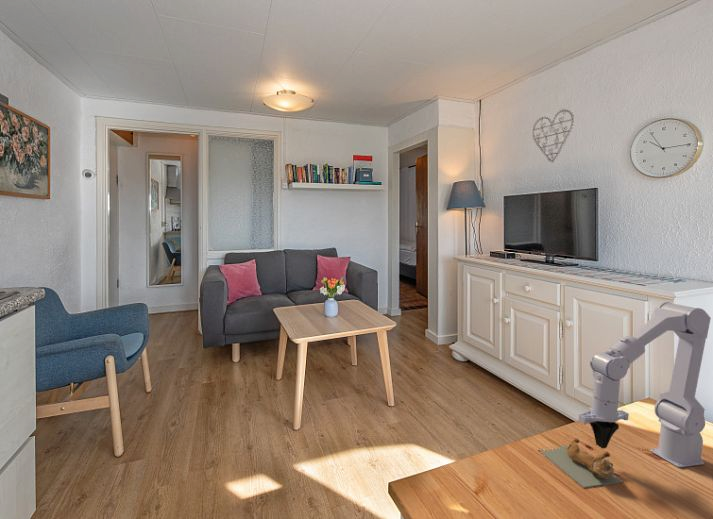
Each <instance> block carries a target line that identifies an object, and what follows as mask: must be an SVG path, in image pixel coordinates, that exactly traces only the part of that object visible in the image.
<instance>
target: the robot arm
mask: <svg viewBox="0 0 713 519" xmlns="http://www.w3.org/2000/svg"><path fill="white" fill-rule="evenodd" d="M710 324H711V316H710V315H709V314H708V312H706V311H705V309H703V308H699V307H692V306H687V305H683V304H676V303H672V302H670V301H664V302H662V303H661V304H659V305H658V306H657V307H656V308H654V309H653V314H652V317H651V318H650V319H649V320H648V321H647V322H646V323H645V324H643V326H642V327H641V328H640V329H639V330H637V332H635V333H634V334H633V335H632V336H631V335H629V336H628V335H625V336H622V337H621V338H619V341H617V342H616V343H614V344H613V345H612V346H610V348H608V349H607V350H605V351H603V352H597V353H596V354H595V355H593V356H592V358H591V360H590V361H589V366H590V368H591V370H592V376H593V388H592V389H593V390H592V399H591V400H592V403H591V406H590V407H588V409H589V410H587V411H585V412H584V413H583V412H582V413H579V414H578V422H579V423H581V424H583V425H588V423H589V424H590V426H591V430H592V432H593V435H594V440H595V444H596V446H598V447H599V448H601V449H603V450H604V449H607V447H608V446H609V443H610V441H611V438H612V436H613V435H614V434H615V433H616V432H617V430H618V429H619V428H620V425H619V424H618V423H616V422H618V421H620V420H623V421H629V414H630V413H629V412H626V411H625V410H623V409H618V408H619V395H620V385H621V379H622V378H625V377H626V375H627V373H628V370H629V368H630V367H631V364H632V363H633V362H635V361H636V360H638V359H639V358H640V357H642V356H643V354H645V352H646V349H645V347H646V346H647V345H649V343H651V342H653V341H654V340H656V339H657V338H659V337H660V336H662V335H663V334H665V333H667V332H668V331H672V332H674V334H675V335H677V337H678V343H677V348H676V352H675V353H676V354H675V358H674V362H673V363H674V365H673V370H672V375H671V380H670V386H669V390H667V391H665V392H661V393H660V394H659V398H658V400H657V401H656V402H655V405H654V413H655V416H656V417H657V418H658V422H659V423H660V429H659V430H660V431H659V439H658V447H656V448H650V449H649V451H650V452H651V453H653V454H655V455H657V456H658V457H660V458H661V459H663V460H665V461H667V463H670V464H671V465H674V466H675V467H677V468H684V467H692V466H694V467H695V466H700V465H701V466H702V465H704V464H705V461H703V460H702V456H703V455H702V453H703V443H704V440H703V436H702V434H701V432H702V431H703V430H704V429H705V427H706V419H705V408H704V406H703V405H702V404H701V402H699V401H698V400H697V398H696V397H695V396H696V392H697V387H698V382H699V377H700V371H701V367H702V366H701V365H702V360H703V355H704V350H705V345H706V339H707V338H708V332H709V330H710Z"/></svg>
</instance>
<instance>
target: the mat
mask: <svg viewBox="0 0 713 519" xmlns="http://www.w3.org/2000/svg"><path fill="white" fill-rule="evenodd" d="M568 446H569V445H562V446H557V447H558V448H557V449H555V447H556V446H554V449H553V451H552V449H551V450H548V451H547V449H546V450H545V451H543V448H541V449H542V450H541V451H540V452H539V453H541V452H542V453H541V455H543V454H544V455H545V456H546V459H548V460H549V461H550V462H551V461H552V463H553V464H554V465H555V466H557V467H558V469H559V470H561V471H562V472H564V474H566V475H567V476H568V477H569V478H571V479H572V480H573V481H574V482H576V484H578V485H579V486H580V487H581V488H583V489H586V488H594V486H595V487H601V485H602V486H607V485H608V486H609V485H613V484H614V485H615V484H621V483H624V481H623V480H622V479H621V478H619V477H618V476H616V475H615V474H614V473H613V474H612V475H611V477H609V478H607V479H604V478H599V477H597V476H596V475H594V473H592V472H591V471H590V470H589V469H588V467H586V466H584V465H582V464H580V463H578V462H575V461H573V460H572V459H571V458H570V457H569V456H568V454H567V452H566V449H567V447H568ZM559 447H560V449H559ZM580 452H582V450H580ZM544 455H543V456H544ZM545 456H544V457H545Z"/></svg>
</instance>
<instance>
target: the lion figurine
mask: <svg viewBox="0 0 713 519" xmlns="http://www.w3.org/2000/svg"><path fill="white" fill-rule="evenodd" d="M579 443H580V440H579V438H574V439H572V441H571V442H570V443H569V444H568V445H567V446H568V447H567V449H566V452H567V454H568V456H569V457H570V458H571V459H572V460H573V461H575V462H578V463H580V464H582V465H584V466H586V467H588V469H589V470H590V471H591V472H592V473H594V475H596V476H597V477H599V478H604V479H607V478H609V477H611V475H612V474H614V472H615V471H614V470H615V468H614V464H613V463H612V462H611V461H610V460H609V459H605V458H609V457H611V454H610V452H608V451H605V452H603V453H601V454H600V455H597V456H593V455H592V454H589V453H588V452H586V451H581V450H580V447H579V445H578V444H579ZM580 451H581V452H580Z"/></svg>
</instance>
